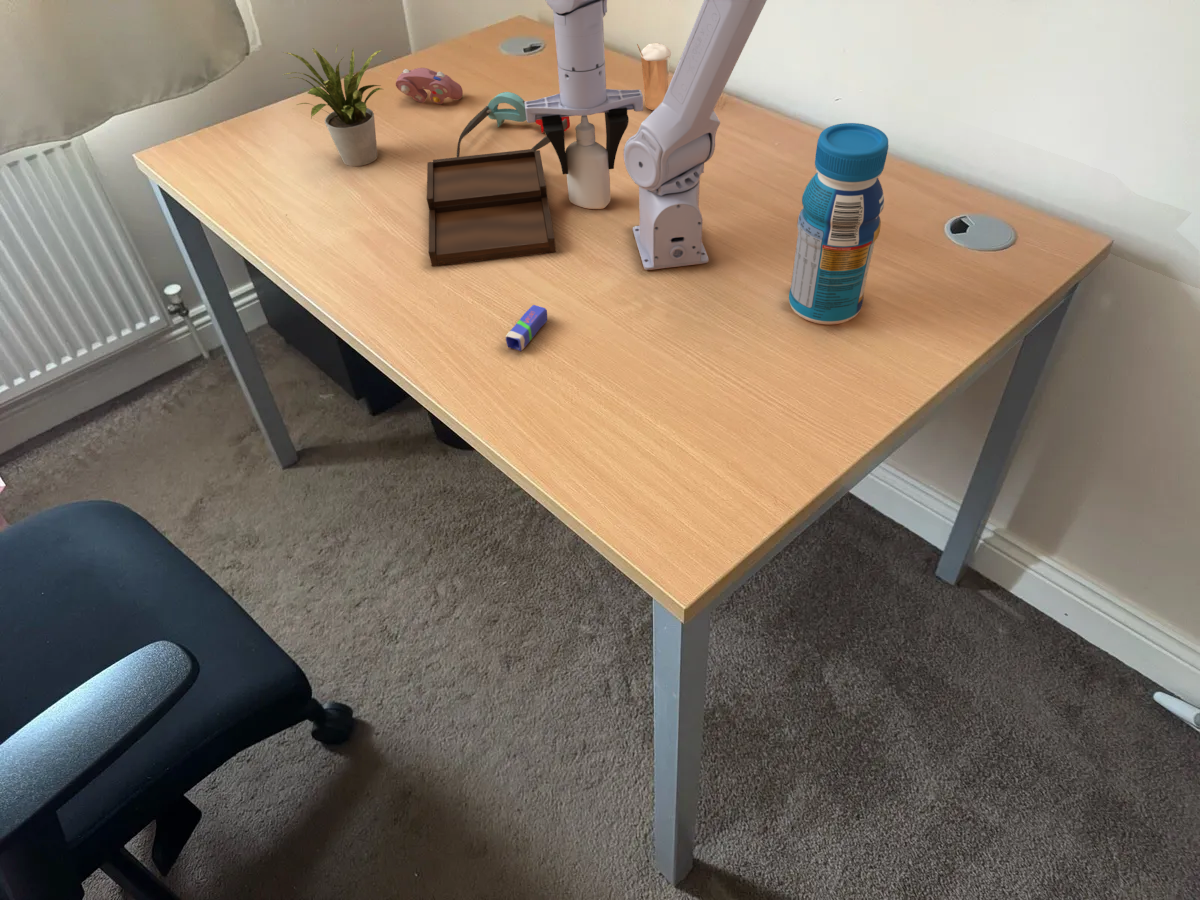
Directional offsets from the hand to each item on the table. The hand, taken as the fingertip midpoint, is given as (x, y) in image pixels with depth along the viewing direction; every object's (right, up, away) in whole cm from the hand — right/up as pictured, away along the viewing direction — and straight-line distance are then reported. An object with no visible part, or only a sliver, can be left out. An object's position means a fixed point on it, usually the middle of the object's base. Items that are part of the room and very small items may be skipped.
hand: (587, 168), depth 111 cm
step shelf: (-13, -6, +2) cm, 14 cm away
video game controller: (-26, +20, +28) cm, 43 cm away
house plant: (-36, +6, +16) cm, 39 cm away
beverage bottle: (+27, -20, -14) cm, 37 cm away
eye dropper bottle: (0, -4, +4) cm, 5 cm away
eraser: (-6, -24, -15) cm, 29 cm away
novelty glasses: (-12, +8, +16) cm, 21 cm away
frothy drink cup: (+10, +17, +22) cm, 30 cm away
